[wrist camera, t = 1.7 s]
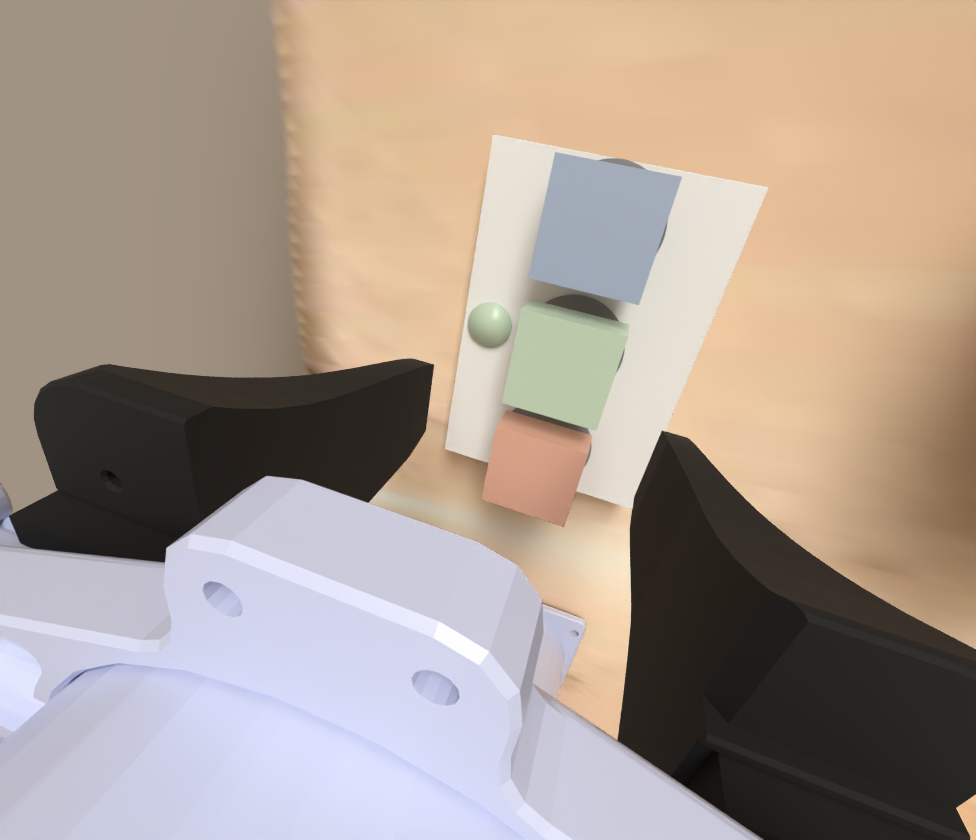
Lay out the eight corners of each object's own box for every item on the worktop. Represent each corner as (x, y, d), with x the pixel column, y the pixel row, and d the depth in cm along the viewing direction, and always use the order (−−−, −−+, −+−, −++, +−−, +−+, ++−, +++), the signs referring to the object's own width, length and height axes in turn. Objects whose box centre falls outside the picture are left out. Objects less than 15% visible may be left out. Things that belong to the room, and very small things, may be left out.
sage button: (599, 413, 18) (596, 431, 16) (511, 387, 18) (501, 402, 17) (629, 324, 16) (628, 336, 15) (530, 299, 16) (521, 308, 15)
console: (633, 484, 22) (632, 511, 21) (458, 430, 24) (442, 450, 22) (755, 187, 16) (769, 187, 14) (507, 139, 18) (491, 133, 16)
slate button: (639, 295, 15) (638, 305, 14) (537, 270, 16) (527, 278, 15) (678, 178, 14) (682, 176, 12) (562, 155, 14) (555, 152, 13)
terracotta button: (569, 504, 20) (563, 526, 18) (491, 479, 20) (480, 499, 19) (592, 435, 18) (588, 454, 17) (506, 410, 19) (496, 426, 17)
